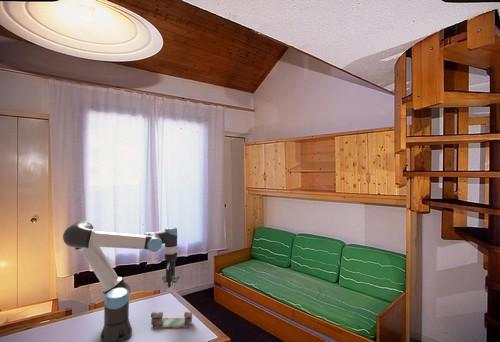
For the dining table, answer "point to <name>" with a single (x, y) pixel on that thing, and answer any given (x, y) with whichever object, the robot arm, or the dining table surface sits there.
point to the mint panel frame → (170, 320)
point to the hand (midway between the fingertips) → (170, 290)
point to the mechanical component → (172, 279)
